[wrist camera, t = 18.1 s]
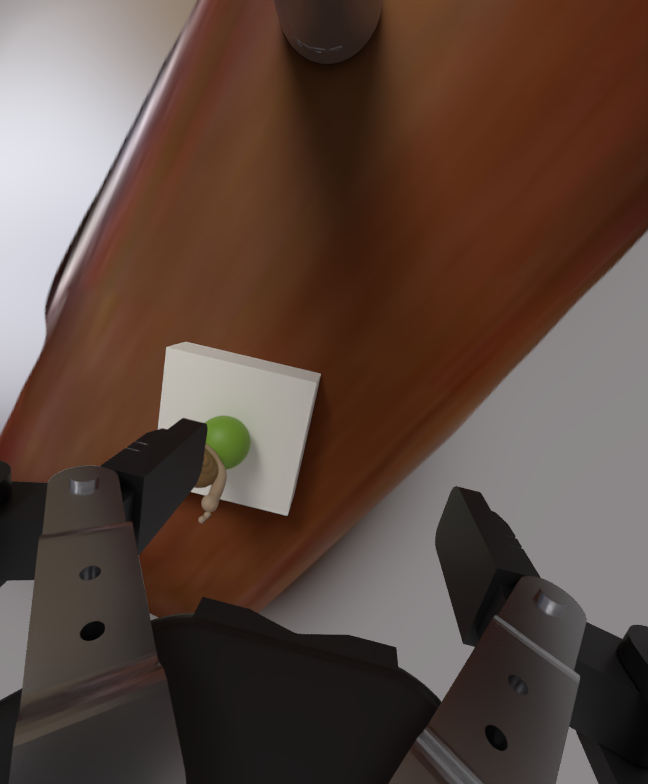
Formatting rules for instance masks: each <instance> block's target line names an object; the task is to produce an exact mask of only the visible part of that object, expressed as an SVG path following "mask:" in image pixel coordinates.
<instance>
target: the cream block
mask: <svg viewBox="0 0 648 784" xmlns="http://www.w3.org/2000/svg"><path fill="white" fill-rule="evenodd" d="M320 377H321V374H320V373H316V372H312V371H308V370H303V369H299V368H295V367H291V366H286V365H282V364H278V363H274V362H269V361H265V360H261V359H257V358H253V357H248V356H244V355H240V354H236V353H231V352H227V351H223V350H219V349H214V348H210V347H206V346H202V345H198V344H193V343H189V342H183V343H179V344H176V345H172V346H169V347H166V357H165V366H164V376H163V386H162V395H161V405H160V414H159V424H158V429H161V428H163V429H169V428H170V427H171V426H173V425H174V424H175V423H177V422H178V421H179V420H180V419H182V418H186V419H190V420H194V421H198V422H202V423H205V422H206V421H208V420H209V419H211V418H213V417H217V416H231V417H234V418H236V419H238V420H239V421H241V422H242V423H243V424H244V425H245V426H246V428H247V429H248V432H249V434H250V439H251V445H250V450H249V452H248V455H247V456H246V458H245V459H244V460H243V461H242V462H241V463H240V464H239V465H237V466H236V467H234V468H231V469H228V470H226V473H227V479H226V485H225V488H224V491H223V493H222V496H221V497H220V499H221V500H225V501H229V502H233V503H237V504H242V505H246V506H250V507H254V508H258V509H262V510H266V511H270V512H274V513H278V514H282V515H286V516H288V513H289V509H290V506H291V503H292V500H293V497H294V493H295V489H296V484H297V480H298V475H299V471H300V466H301V462H302V457H303V453H304V449H305V444H306V440H307V435H308V431H309V426H310V422H311V417H312V413H313V408H314V404H315V399H316V395H317V390H318V386H319V381H320ZM210 488H211V485H209V486H207V487H205V488H193V489H192V490H191V492H193V493H197V494H201V495H205V496H206V495H208V493H209V490H210Z"/></svg>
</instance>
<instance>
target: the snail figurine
mask: <svg viewBox="0 0 648 784" xmlns="http://www.w3.org/2000/svg"><path fill="white" fill-rule="evenodd" d="M205 423H206V424H207V427H208V431H207V438H206V445H205V452H204V459H203V466H202V471H201V474H200V477H199V480H198V482H197V484H196V485H195V487H194V488H205V487H207V486H209V485H211V488H210V490H209V493H208V495H206V496H204V497H203V499H202V502H201V504H202V508H203V509H204V510H205V511H207V512H205V513H204V516H201V517H200V518H199V522H200V523H203V522H204V521H205V520H206V519H207V518H209V517H210V516H211V512H213V511H215V510H216V508H217V506H218V504H219V499H220V497H221V496H222V493H223V491H224V488H225V485H226V479H227V473H226V470H228V469H231V468H234V467H236V466H237V465H239V464H240V463H241V462H242V461H243V460H244V459H245V458H246V456H247V455H248V452H249V450H250V445H251V439H250V434H249V432H248V429H247V428H246V426H245V425H244V424H243V423H242V422H241V421H239V420H238V419H236V418H234V417H231V416H217V417H213V418H211V419H209V420H208V421H206V422H205Z"/></svg>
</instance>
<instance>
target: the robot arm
mask: <svg viewBox="0 0 648 784" xmlns="http://www.w3.org/2000/svg"><path fill="white" fill-rule="evenodd" d="M274 3H275V7H276V10H277V13H278V17H279V20H280V24H281V26H282V29H283V31H284V34H285V36H286V38H287V39H288V41H289V43H290V44H291V46H292V47H293V48H294V49H295V50H296V51H297V52H298V53H299V54H300V55H302V56H303V57H305V58H307V59H308V60H310V61H313V62H316V63H320V64H333V63H338V62H342V61H344V60H346V59H348V58H351V57H352V56H353V55H355V54H356V53H357V52H359V51H360V50H361V49H362V48H363V47H364V45H365V44H366V43H367V42H368V41H369V39H370V37H371V36H372V34H373V32H374V31H375V29H376V26H377V23H378V21H379V18H380V14H381V8H382V3H383V0H274ZM207 431H208V427H207V424H206V423H202V422H198V421H194V420H190V419H186V418H182V419H180V420H179V421H178V422H177V423H175V424H174V425H173V426H171V427H170V428H169V429H163V428H161V429H158V430H155V431H152V432H149V433H146V434H145V435H143V436H142V437H141V438H139V439H138V440H136V442H133V443H132V444H131V445H129V446H128V447H127V449H126V448H125V449H124V450H122V451H121V452H119V453H118V454H117V455H115V456H114V457H112V458H111V459H109V460H108V461H107V462H105V463H104V464H102V465H101V466H78V467H73V468H69V469H66V470H63V471H61V472H59V473H57V474H56V475H54V476H53V477H52V478H51V479H50V480H49V482H48V483H34V482H12V481H11V468H10V466H9V465H8V464H7V463H5V462H3V461H0V587H1V586H2V585H3V584H4V583H5V582H6V581H7V580H34V588H33V597H32V606H31V615H30V624H29V632H28V641H27V650H26V659H25V668H24V678H23V687H22V689H20V690H18V691H17V692H14V693H13V694H11V695H9V696H7V697H5V698H3V699H2V700H0V784H556V780H557V776H558V771H559V767H560V763H561V759H562V754H563V750H564V745H565V741H566V737H567V733H568V729H569V727H571V728H573V729H575V730H576V732H577V735H578V737H579V740H580V742H581V744H582V746H583V749H584V751H585V753H586V756H587V758H588V760H589V763H590V764H591V767H592V769H593V772H594V774H595V776H596V779H597V781H598V783H599V784H648V627H647V626H642V625H633V626H631V627H630V628H629V629H628V631H627V633H626V634H625V636H624V638H623V639H621V638H619V637H617V636H615V635H613V634H610V633H608V632H606V631H604V630H602V629H600V628H598V627H596V626H593V625H592V624H590V623H588V622H586V615H585V613H584V611H583V609H582V608H581V607H580V605H579V604H578V603H577V602H576V601H575V600H574V599H573V598H572V597H571V596H570V595H569V594H568V593H566V592H565V591H564V590H563V589H561V588H559V587H558V586H556V585H554V584H553V583H551V582H549V581H547V580H544V579H542V578H540V576H539V574H538V573H537V571H536V569H535V568H534V566H533V564H532V563H531V561H530V559H529V558H528V556H527V555H526V553H525V551H524V550H523V549H521V545H520V543H519V541H518V540H517V539H515V535H514V533H513V532H512V530H511V528H510V527H509V525H508V524H507V523H506V522H505V521H504V520H503V519H502V518H501V517H500V516H499V515H498V514H497V513H495V512H493V511H491V510H490V508H489V506H488V504H487V503H486V501H485V499H484V497H483V496H482V494H481V493H480V492H477V491H473V490H469V489H465V488H460V487H457V486H456V487H454V488H453V489H452V491H451V493H450V495H449V498H448V501H447V504H446V506H445V509H444V511H443V514H442V517H441V519H440V522H439V525H438V528H437V531H436V537H435V545H436V550H437V554H438V557H439V561H440V564H441V568H442V571H443V575H444V578H445V582H446V585H447V589H448V592H449V596H450V599H451V603H452V607H453V610H454V613H455V617H456V620H457V624H458V627H459V631H460V634H461V638H462V642H463V644H466V645H470V646H474V647H475V648H474V650H473V652H472V653H471V655H470V657H469V658H468V660H467V662H466V663H465V665H464V667H463V668H462V670H461V671H460V673H459V675H458V676H457V678H456V679H455V681H454V683H453V684H452V686H451V688H450V689H449V691H448V692H447V694H446V696H445V697H444V699H443V701H442V702H441V701H440V700H439V698H438V697H437V696H436V695H435V694H434V693H433V692H432V691H431V690H430V689H429V688H428V687H426V686H425V685H424V684H423V683H422V682H420V681H419V680H418V679H417V678H415V677H414V676H412V675H411V674H409V673H408V672H406V671H405V670H403V669H401V668H399V667H398V660H397V650H396V647H393V646H388V645H385V644H381V643H378V642H374V641H370V640H366V639H362V638H358V637H354V636H350V635H321V634H297V633H294V632H291V631H290V630H288V629H286V628H284V627H282V626H280V625H278V624H276V623H275V622H273V621H271V620H269V619H267V618H265V617H263V616H261V615H260V614H258V613H256V612H254V611H252V610H250V609H247V608H243V607H239V606H236V605H232V604H228V603H224V602H220V601H216V600H213V599H209V598H205V597H202V599H201V601H200V603H199V605H198V607H197V609H196V611H195V613H184V614H174V615H169V616H165V617H160V618H157V619H154V620H150V615H149V609H148V604H147V599H146V593H145V588H144V583H143V577H142V572H141V566H140V561H139V555H140V553H141V552H142V551H143V550H144V548H145V547H146V546H147V545H148V544H149V542H150V541H151V540H152V539H153V537H154V536H155V535H156V534H157V532H158V531H159V530H160V529H161V527H162V526H163V525H164V524H165V523H166V521H167V520H168V519H169V518H170V516H171V515H172V514H173V513H174V511H175V510H176V509H177V508H178V506H179V505H180V504H181V503H182V502H183V500H184V499H185V498H186V497H187V495H188V494H189V493H190V492H191V490H192V489H193V488H194V487H195V485H196V484H197V482H198V480H199V477H200V474H201V471H202V466H203V459H204V452H205V445H206V438H207Z"/></svg>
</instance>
